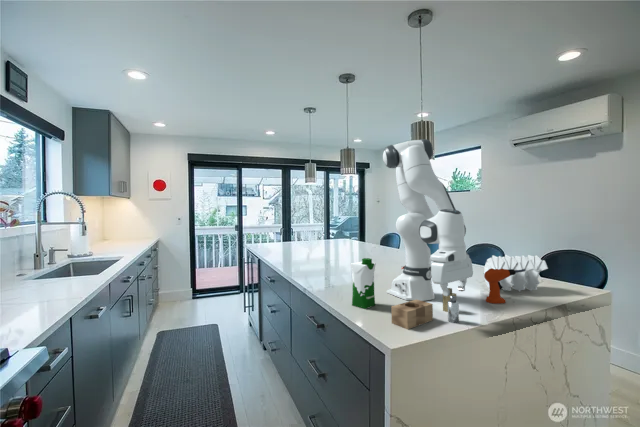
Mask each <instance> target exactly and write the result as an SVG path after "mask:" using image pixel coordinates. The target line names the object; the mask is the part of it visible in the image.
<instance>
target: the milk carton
mask: <svg viewBox="0 0 640 427" xmlns="http://www.w3.org/2000/svg"><path fill="white" fill-rule="evenodd" d="M372 261H373V259H372V258H370V257H365V258H362V259H361V261H356V262H352V263H350V268H351V274H352V276H351V278H352V280H351V281H352V296H351V297H352V299H351V300H352V301H351V306H353V307H356V308H359V309H363V310H366V309H369V308H371V307H375V306H376V300H375V299H376V298H375V296H376V295H375V271H376V269H375V268H376V262H372Z"/></svg>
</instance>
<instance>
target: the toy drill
mask: <svg viewBox="0 0 640 427" xmlns="http://www.w3.org/2000/svg"><path fill="white" fill-rule="evenodd" d="M523 271H525V269H521V270H513V269H508V270H507V269H502V268H501V269H492V268H491V269H489V270H488V271H486V272H485V274H484V275H483V279H484V278H485V279H486V280H487V281H488V282H489V287H490V288H489V293H488V296H486V298H485V301H486V303H488V304H505V303H506V302H507V301H506V299H505V298H504V297H502V296H501V290H503V289H502V288H503V287H502V286H501V284H500V282H499V281H501V280H503V279H505V278H507V277H509V276H511V275H515V274H516V273H518V272H523Z"/></svg>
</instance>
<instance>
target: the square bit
mask: <svg viewBox="0 0 640 427" xmlns="http://www.w3.org/2000/svg"><path fill="white" fill-rule="evenodd" d="M447 288H448V290H450V295H449V296H444V295H443V294H442V311H443V312H446V313H448V301H450V296H456V297H457V293H454V292H453V288H451V287H447Z"/></svg>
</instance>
